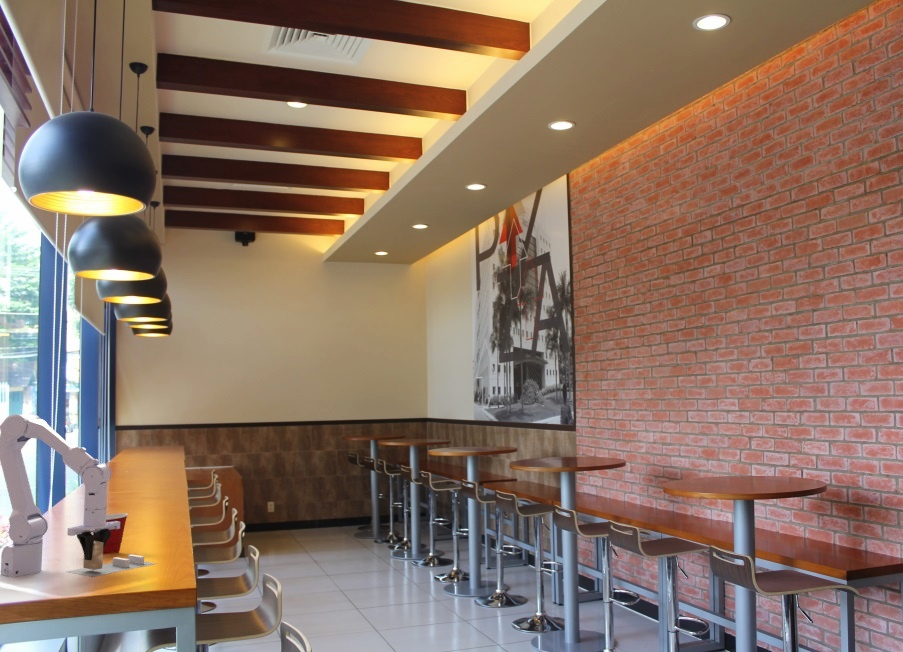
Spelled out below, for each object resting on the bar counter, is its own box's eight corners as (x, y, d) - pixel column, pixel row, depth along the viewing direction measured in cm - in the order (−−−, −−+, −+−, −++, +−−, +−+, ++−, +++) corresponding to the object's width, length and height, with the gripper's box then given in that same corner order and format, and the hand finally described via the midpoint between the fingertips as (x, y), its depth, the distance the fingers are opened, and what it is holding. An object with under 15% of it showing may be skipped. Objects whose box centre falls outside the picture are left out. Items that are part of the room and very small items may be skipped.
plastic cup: (91, 552, 249) (92, 513, 250) (128, 550, 252) (129, 512, 253) (86, 558, 238) (88, 517, 240) (125, 556, 242) (126, 516, 243)
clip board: (92, 580, 209) (92, 569, 210) (66, 575, 216) (66, 564, 216) (156, 567, 226) (156, 556, 226) (130, 562, 233) (130, 552, 233)
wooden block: (94, 569, 214) (95, 543, 215) (83, 567, 217) (84, 541, 217) (102, 568, 216) (103, 542, 217) (91, 566, 219) (92, 540, 219)
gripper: (79, 512, 209) (76, 565, 208) (127, 506, 222) (125, 556, 220) (63, 510, 213) (61, 562, 212) (112, 504, 225) (110, 553, 224)
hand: (93, 558), depth 216 cm, fingers closed on wooden block, 2 cm apart
